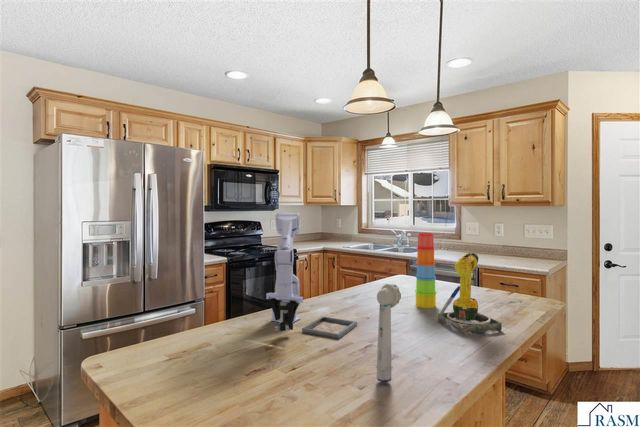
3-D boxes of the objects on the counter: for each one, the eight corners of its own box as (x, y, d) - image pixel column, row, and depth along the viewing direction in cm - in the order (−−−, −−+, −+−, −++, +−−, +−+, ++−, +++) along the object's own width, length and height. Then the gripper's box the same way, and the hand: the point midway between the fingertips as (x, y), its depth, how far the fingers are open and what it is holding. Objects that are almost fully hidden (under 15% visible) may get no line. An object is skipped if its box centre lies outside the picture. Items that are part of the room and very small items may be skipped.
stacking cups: (441, 308, 166) (441, 233, 165) (427, 311, 160) (427, 234, 160) (424, 303, 174) (424, 232, 174) (409, 306, 168) (409, 232, 168)
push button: (278, 333, 124) (277, 304, 125) (272, 329, 129) (272, 301, 129) (295, 330, 128) (295, 302, 128) (289, 326, 132) (289, 299, 133)
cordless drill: (507, 331, 133) (506, 256, 133) (462, 335, 129) (461, 258, 129) (474, 317, 151) (474, 252, 151) (434, 321, 146) (433, 253, 147)
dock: (302, 332, 133) (302, 328, 132) (323, 320, 148) (323, 316, 148) (338, 339, 126) (338, 334, 126) (357, 325, 141) (357, 321, 141)
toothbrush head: (371, 378, 96) (371, 285, 96) (386, 370, 101) (386, 281, 101) (387, 385, 92) (387, 288, 92) (402, 376, 97) (402, 284, 97)
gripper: (261, 283, 128) (261, 320, 128) (295, 287, 121) (295, 327, 122) (272, 279, 134) (272, 315, 134) (306, 283, 128) (306, 321, 128)
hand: (284, 320), depth 128 cm, fingers closed on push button, 5 cm apart
